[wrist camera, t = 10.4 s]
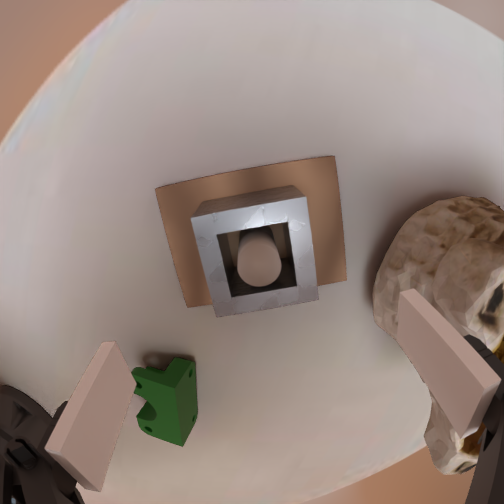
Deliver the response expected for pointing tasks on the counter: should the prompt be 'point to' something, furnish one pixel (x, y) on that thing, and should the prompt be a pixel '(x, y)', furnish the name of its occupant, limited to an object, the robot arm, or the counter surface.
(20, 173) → the counter surface
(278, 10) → the counter surface
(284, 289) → the collar
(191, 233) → the post board
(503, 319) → the ceramic vessel
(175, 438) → the clamp
